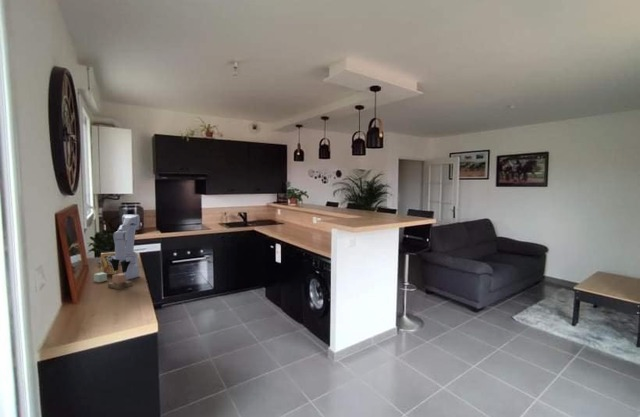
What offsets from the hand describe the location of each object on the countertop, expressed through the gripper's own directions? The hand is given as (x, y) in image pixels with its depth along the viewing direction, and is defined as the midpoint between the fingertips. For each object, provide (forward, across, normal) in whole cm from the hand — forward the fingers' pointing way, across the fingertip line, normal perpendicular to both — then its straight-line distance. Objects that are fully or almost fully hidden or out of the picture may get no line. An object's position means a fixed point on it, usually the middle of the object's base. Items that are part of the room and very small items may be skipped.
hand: (120, 271), depth 191 cm
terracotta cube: (+7, 0, 0) cm, 7 cm away
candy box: (+10, -32, +15) cm, 37 cm away
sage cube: (+10, -21, +2) cm, 23 cm away
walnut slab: (+10, 0, 0) cm, 10 cm away
